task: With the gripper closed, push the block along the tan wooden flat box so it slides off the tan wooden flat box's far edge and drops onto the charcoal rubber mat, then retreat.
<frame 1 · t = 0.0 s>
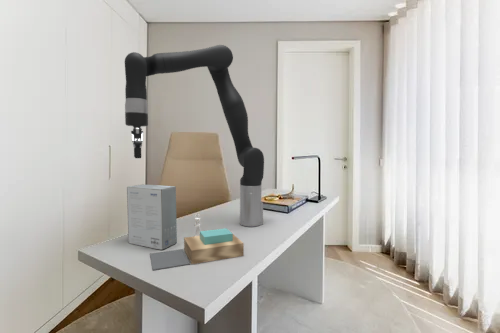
hand: (137, 157, 99), 29 cm above the table, fingers open, 8 cm apart
hard drive box: (152, 243, 94), on the table
chess piece: (197, 241, 98), on the table
block: (216, 239, 87), point 4 cm above the table, touching tan wooden flat box
tan wooden flat box: (213, 252, 87), on the table
mat: (169, 259, 81), on the table
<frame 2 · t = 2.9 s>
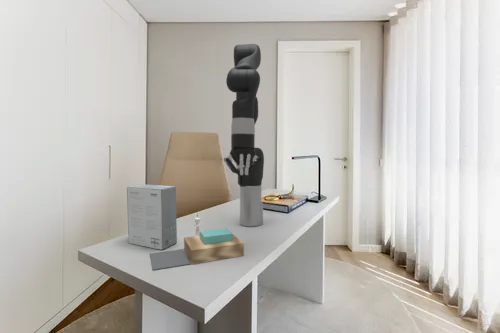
hand: (242, 186, 89), 21 cm above the table, fingers closed
nothing on the table moved.
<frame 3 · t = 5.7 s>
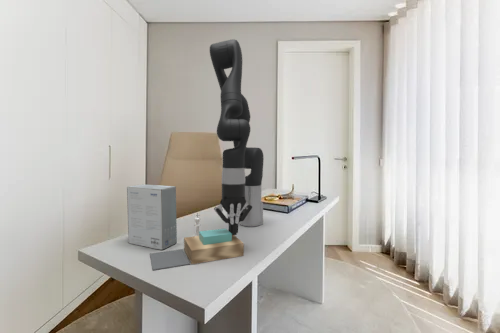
hand: (233, 234, 89), 5 cm above the table, fingers closed
block: (215, 239, 87), point 4 cm above the table, touching tan wooden flat box, gripper
everything else where it was.
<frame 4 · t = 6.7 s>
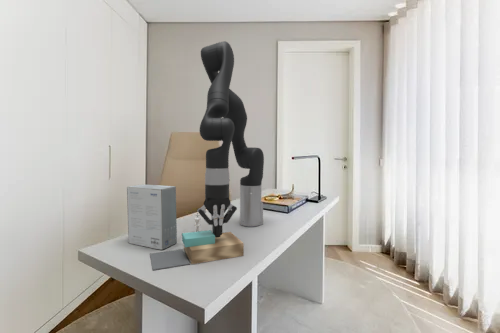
hand: (217, 236, 87), 5 cm above the table, fingers closed
block: (198, 242, 85), point 4 cm above the table, touching tan wooden flat box, gripper
everything else where it was.
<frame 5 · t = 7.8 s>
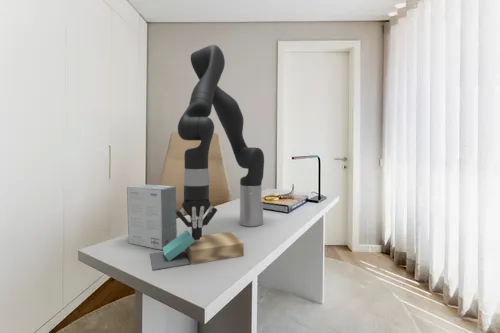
hand: (196, 239, 84), 5 cm above the table, fingers closed
block: (180, 247, 83), point 3 cm above the table, tilted 33°, touching tan wooden flat box
everything else where it was.
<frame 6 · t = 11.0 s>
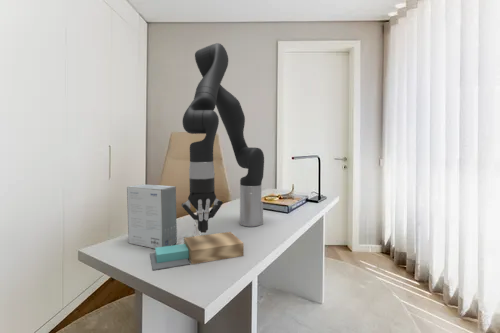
hand: (202, 231, 85), 7 cm above the table, fingers closed
block: (171, 256, 82), resting on mat
everything else where it was.
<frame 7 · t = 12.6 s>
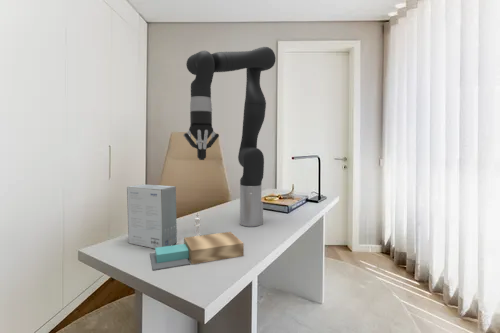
hand: (201, 159, 98), 29 cm above the table, fingers closed
nothing on the table moved.
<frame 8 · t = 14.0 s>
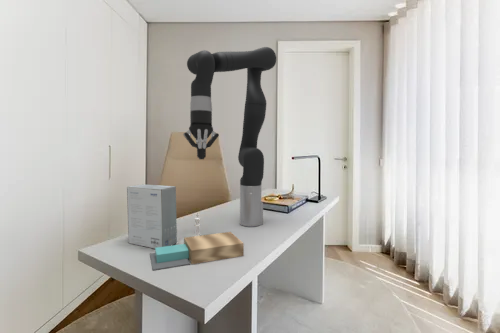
hand: (201, 159, 98), 29 cm above the table, fingers closed
nothing on the table moved.
at the end: block resting on mat; block inside the target area on the mat (1.2 cm from its centre), point 0.3 cm above the mat's base; block touching mat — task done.
